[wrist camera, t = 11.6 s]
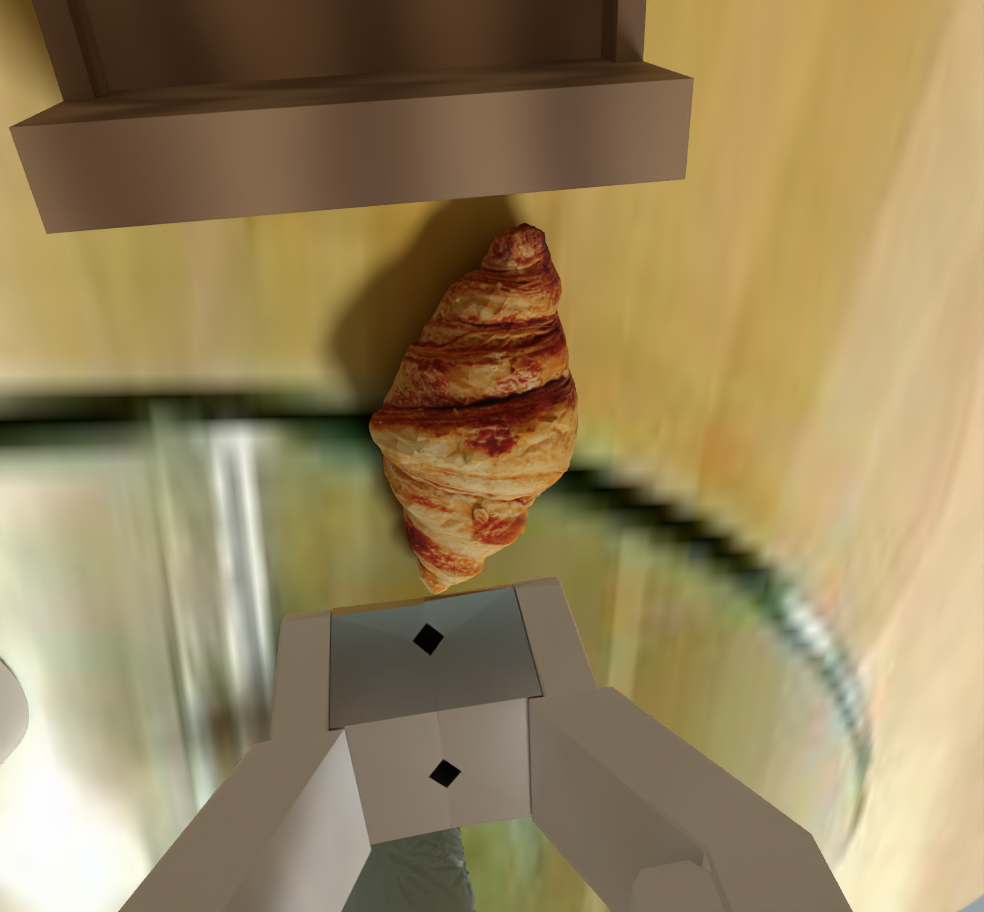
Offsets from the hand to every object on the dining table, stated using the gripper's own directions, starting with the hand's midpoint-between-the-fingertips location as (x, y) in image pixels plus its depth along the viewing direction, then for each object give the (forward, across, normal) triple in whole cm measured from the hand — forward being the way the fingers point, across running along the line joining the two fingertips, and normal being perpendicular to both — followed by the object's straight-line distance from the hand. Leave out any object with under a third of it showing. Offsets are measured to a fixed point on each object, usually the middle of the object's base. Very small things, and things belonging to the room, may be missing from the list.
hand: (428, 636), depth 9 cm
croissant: (+29, +3, -14) cm, 32 cm away
